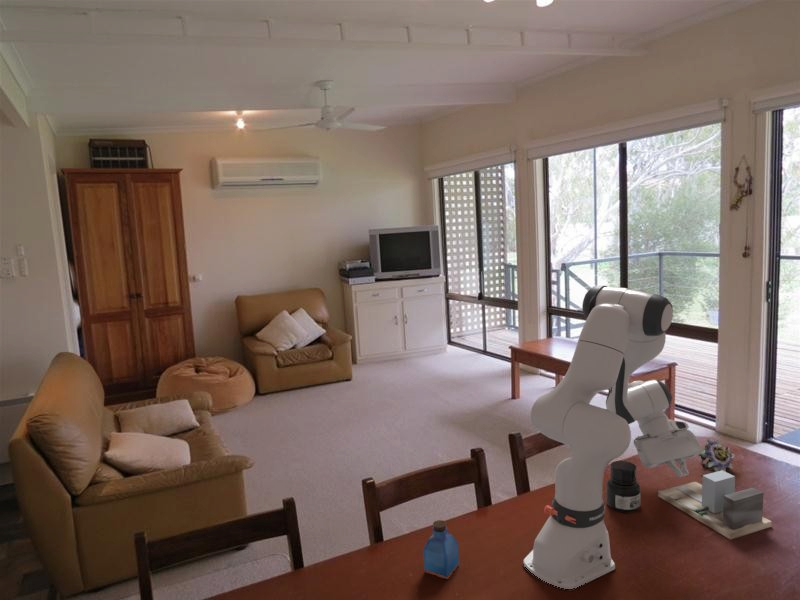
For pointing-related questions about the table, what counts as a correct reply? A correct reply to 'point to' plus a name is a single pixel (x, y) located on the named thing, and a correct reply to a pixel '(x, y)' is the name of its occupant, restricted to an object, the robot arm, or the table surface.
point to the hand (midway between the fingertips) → (684, 475)
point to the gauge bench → (699, 490)
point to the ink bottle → (623, 487)
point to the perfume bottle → (441, 551)
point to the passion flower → (716, 456)
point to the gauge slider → (716, 490)
